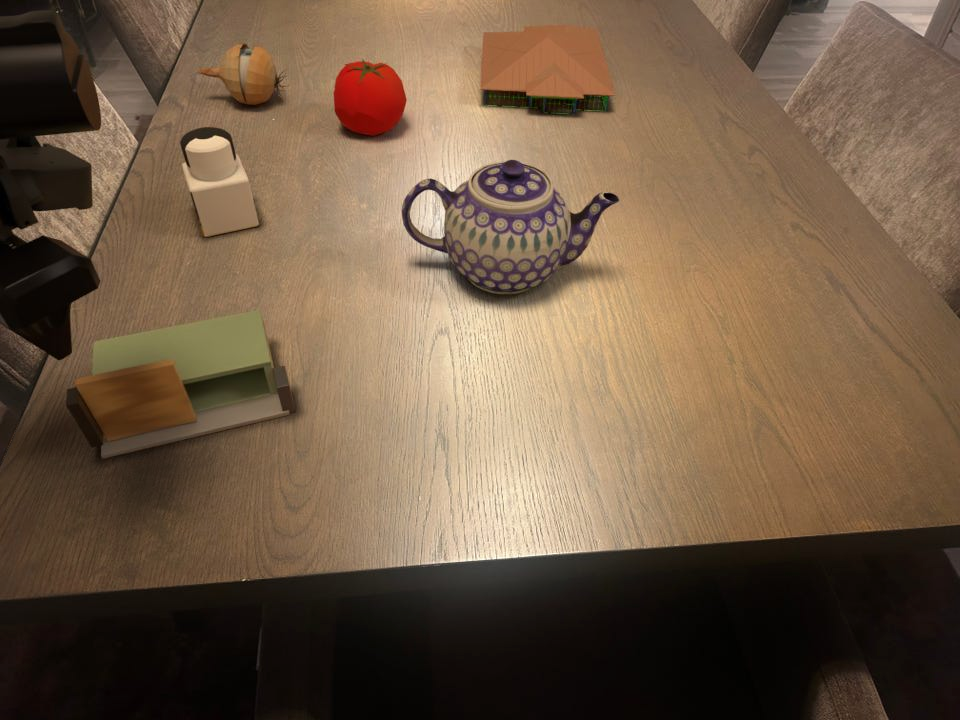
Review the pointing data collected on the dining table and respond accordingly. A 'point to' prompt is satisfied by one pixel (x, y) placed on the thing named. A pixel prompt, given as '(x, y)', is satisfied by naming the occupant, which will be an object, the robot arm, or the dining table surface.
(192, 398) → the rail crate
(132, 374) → the sliding door
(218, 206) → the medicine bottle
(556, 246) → the teapot
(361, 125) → the tomato
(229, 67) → the split yellow onion
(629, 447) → the dining table surface
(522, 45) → the house
